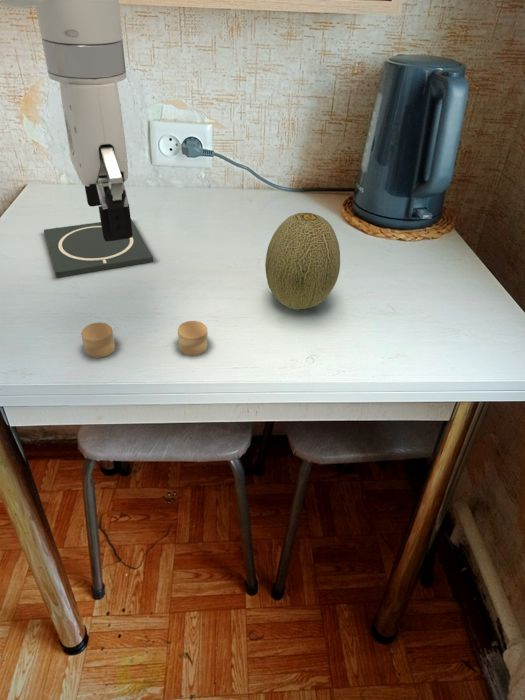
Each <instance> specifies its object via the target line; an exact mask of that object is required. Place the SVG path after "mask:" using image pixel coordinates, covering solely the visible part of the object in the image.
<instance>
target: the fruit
mask: <svg viewBox="0 0 525 700" xmlns="http://www.w3.org/2000/svg"><path fill="white" fill-rule="evenodd" d="M338 240H339V239H338V237H337V235H336V232H335V230H334V228H333V226H332V224H331V223H330V222H329V221H328V220H327V219H326V218H324V217H323V216H321V215H319V214H315V213H312V212H297V213H295V214H292V215H290V216H288V217H287V218H286V219H285V220H283V221H282V222H281V223H280V225H278V227H277V229H276V230H275V231H274V232H273V235H272V236H271V239H270V241H269V244H268V246H267V251H266V255H265V265H264V267H265V268H264V269H265V278H266V280H267V285H268V288H269V290H270V293H272V295H273V297H274V298H275V299H276V300H277V301H278V303H280V304H282V305H283V306H285V307H286V308H288V309H291V310H307V309H310V308H314V307H315V306H318V305H320V304H321V303H322V302H324V300H326V299H327V298H328V297H329V296H330V294H331V293H332V291H333V289H334V287H335V285H336V283H337V281H338V278H339V276H340V270H341V250H340V244H339V241H338Z"/></svg>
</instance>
